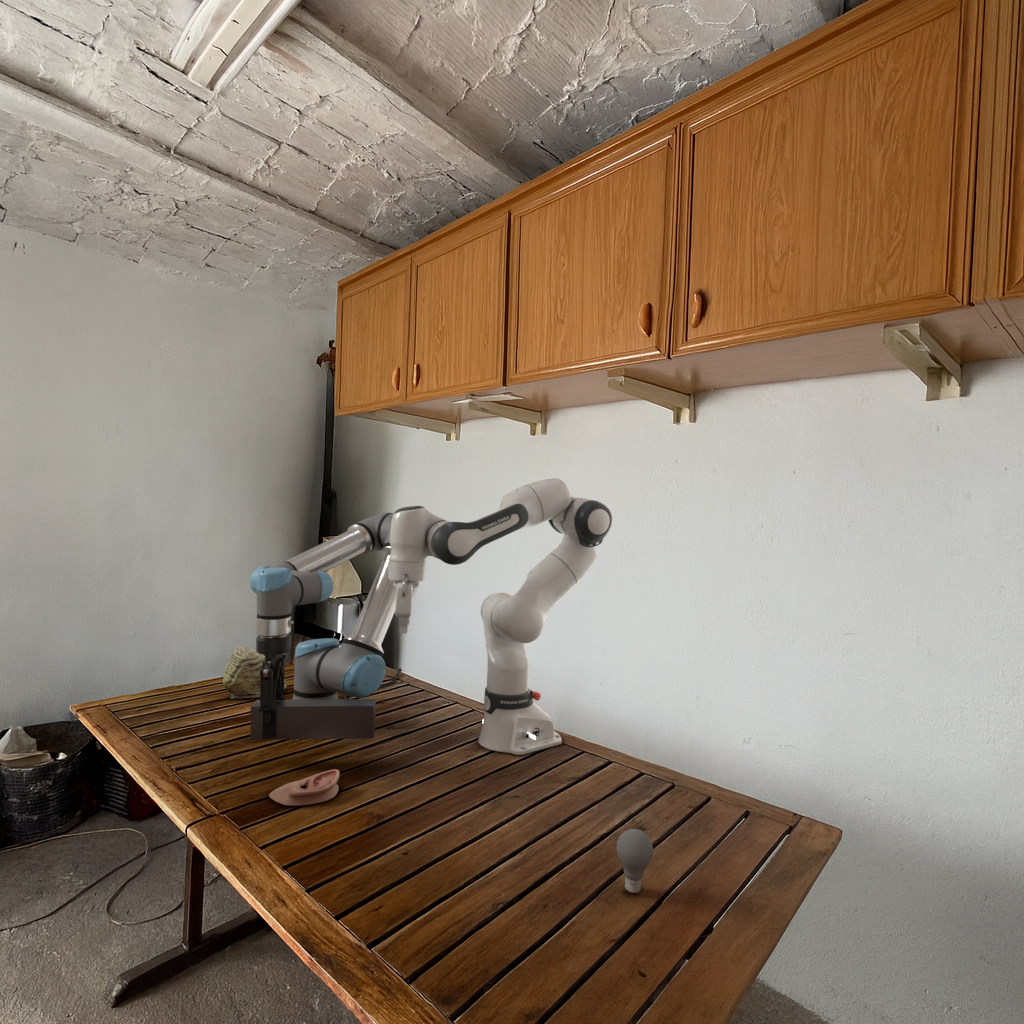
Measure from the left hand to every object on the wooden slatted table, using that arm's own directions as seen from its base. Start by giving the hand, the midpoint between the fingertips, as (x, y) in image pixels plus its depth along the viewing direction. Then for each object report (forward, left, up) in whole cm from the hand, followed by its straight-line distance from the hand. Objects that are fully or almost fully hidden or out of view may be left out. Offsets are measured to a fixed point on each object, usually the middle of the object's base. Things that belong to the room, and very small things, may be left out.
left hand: (272, 733), depth 148 cm
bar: (-7, +7, -1) cm, 10 cm away
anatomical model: (+3, +18, -8) cm, 20 cm away
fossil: (-24, -50, -8) cm, 56 cm away
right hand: (-23, +18, +24) cm, 38 cm away
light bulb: (-15, +87, -8) cm, 88 cm away
